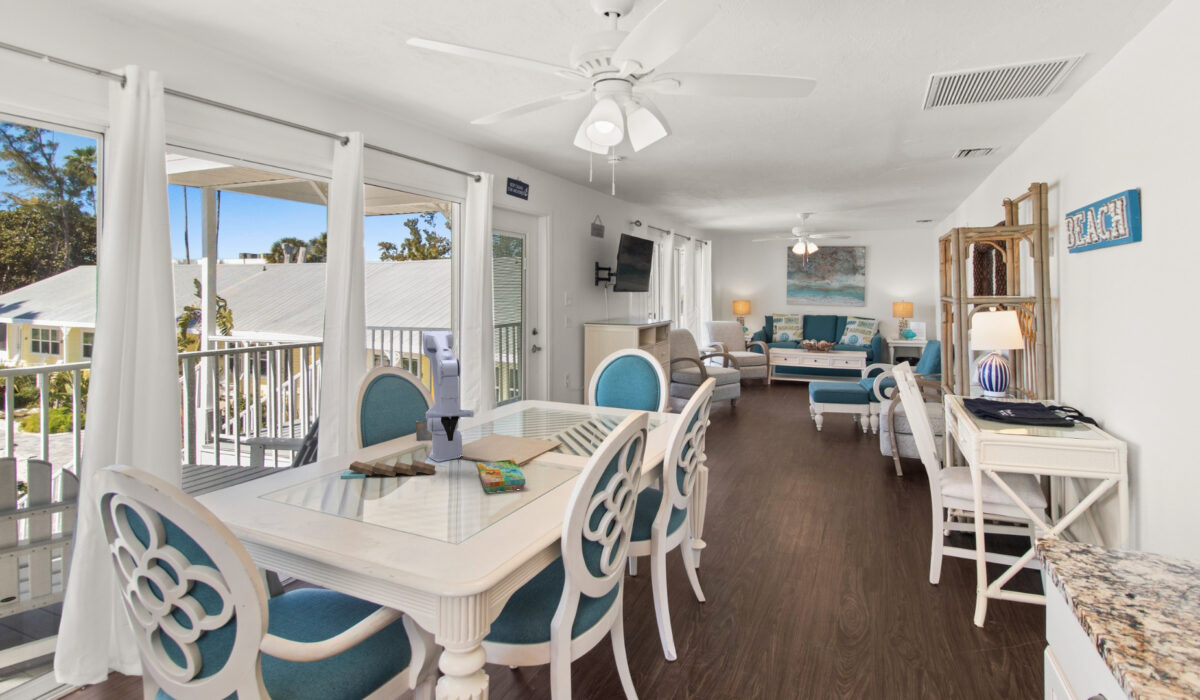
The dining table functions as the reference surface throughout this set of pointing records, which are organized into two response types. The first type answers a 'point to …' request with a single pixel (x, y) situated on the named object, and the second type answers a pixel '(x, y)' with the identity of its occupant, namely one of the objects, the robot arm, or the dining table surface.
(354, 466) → the domino
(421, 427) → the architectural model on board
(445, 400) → the robot arm
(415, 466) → the domino
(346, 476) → the domino
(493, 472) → the puzzle game
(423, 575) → the dining table surface
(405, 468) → the domino
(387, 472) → the domino
